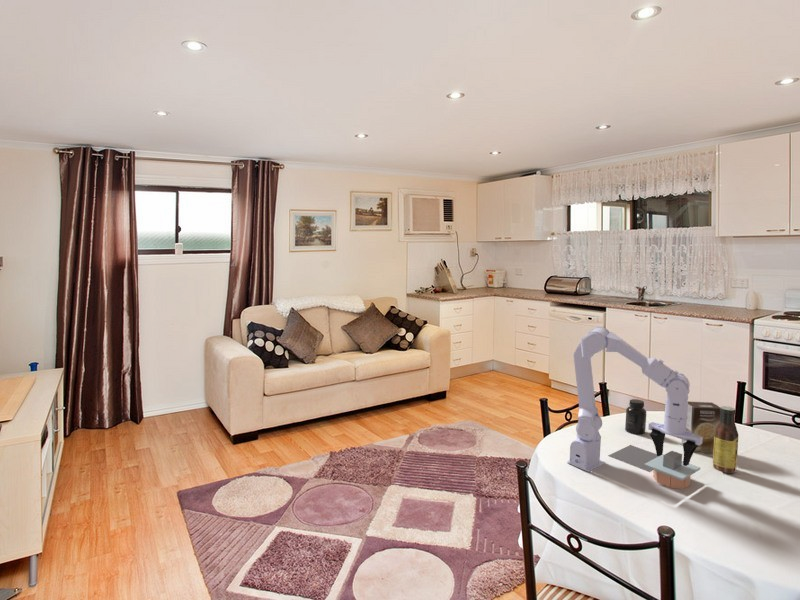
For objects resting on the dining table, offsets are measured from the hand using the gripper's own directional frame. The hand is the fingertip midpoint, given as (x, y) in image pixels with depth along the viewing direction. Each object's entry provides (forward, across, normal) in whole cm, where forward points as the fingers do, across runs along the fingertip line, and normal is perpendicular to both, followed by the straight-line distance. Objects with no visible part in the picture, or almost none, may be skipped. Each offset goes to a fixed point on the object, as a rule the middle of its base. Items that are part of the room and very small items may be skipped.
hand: (672, 459), depth 147 cm
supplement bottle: (+7, +26, -27) cm, 38 cm away
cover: (+2, 0, 0) cm, 2 cm away
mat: (+7, +14, -7) cm, 17 cm away
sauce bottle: (+7, -6, -21) cm, 23 cm away
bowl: (+7, 0, 0) cm, 7 cm away
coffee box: (+7, +5, -30) cm, 31 cm away
